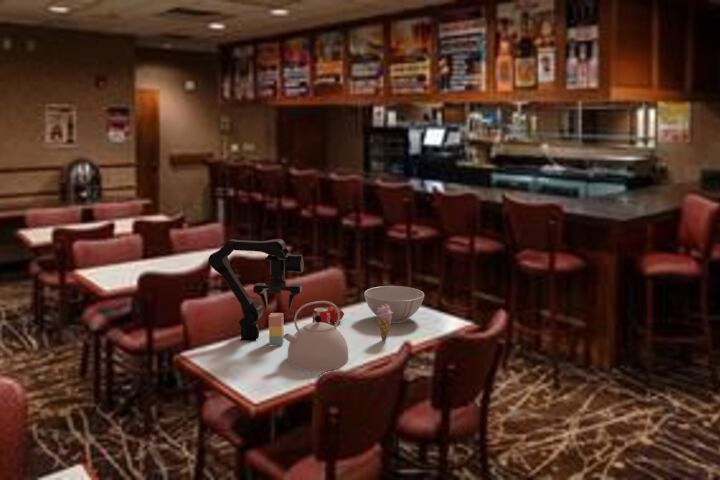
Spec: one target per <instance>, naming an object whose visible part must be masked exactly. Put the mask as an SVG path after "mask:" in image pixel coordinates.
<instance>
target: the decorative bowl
mask: <svg viewBox="0 0 720 480" xmlns="http://www.w3.org/2000/svg"><path fill="white" fill-rule="evenodd" d="M363 295H364V300H365V302H366V304H367V306H368V308H369V309H370V310H371V312H372V313H373V314H374V315H375V316H376V315H377V311H378V309H377V308H381V307H382V306H381V305H383V306H385V304H387V305H389V307H390V310H391V312H393V313H392V318H391V323H390V324H402V323H406V322H407V321H408V319H409V318H410V317H412V316H413V315H415V314H416V313H417V312H418V310H419V309H420V307H421V305H422V303H423V301H424V298H425V293H424V292H423V291H422V290H420V289H417V288H413V287H409V286H399V285H383V286H376V287H372V288H368V289H366V290H365V291H364V293H363Z"/></svg>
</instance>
